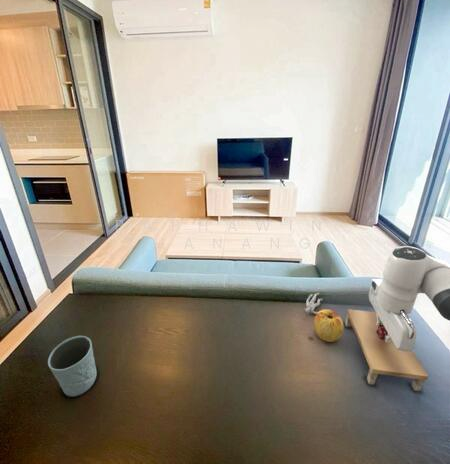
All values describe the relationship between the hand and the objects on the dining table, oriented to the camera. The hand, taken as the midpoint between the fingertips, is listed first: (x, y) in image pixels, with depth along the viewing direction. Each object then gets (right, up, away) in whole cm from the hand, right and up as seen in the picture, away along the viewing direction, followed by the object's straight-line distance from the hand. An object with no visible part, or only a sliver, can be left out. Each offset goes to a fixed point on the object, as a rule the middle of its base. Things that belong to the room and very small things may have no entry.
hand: (383, 333), depth 76 cm
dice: (0, -2, +1) cm, 2 cm away
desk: (0, -8, +3) cm, 8 cm away
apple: (-14, -6, +9) cm, 18 cm away
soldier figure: (-14, -1, +21) cm, 25 cm away
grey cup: (-91, -11, -6) cm, 92 cm away
